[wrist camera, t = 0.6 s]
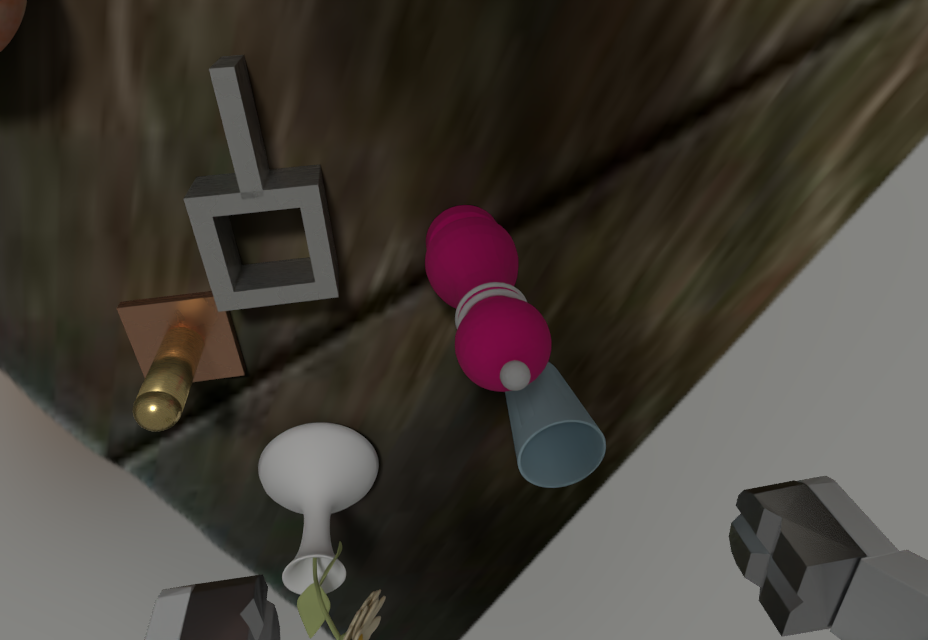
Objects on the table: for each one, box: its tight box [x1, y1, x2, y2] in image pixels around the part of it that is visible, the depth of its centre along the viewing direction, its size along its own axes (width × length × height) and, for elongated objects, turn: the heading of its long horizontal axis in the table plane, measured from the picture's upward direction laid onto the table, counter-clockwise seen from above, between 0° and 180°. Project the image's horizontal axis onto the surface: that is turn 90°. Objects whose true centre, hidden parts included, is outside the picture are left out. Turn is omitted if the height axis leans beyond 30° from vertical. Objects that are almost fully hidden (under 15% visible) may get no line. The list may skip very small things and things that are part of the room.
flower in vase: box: [258, 422, 386, 640], centre depth 51 cm, size 13×11×25 cm
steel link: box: [184, 55, 339, 312], centre depth 45 cm, size 17×9×4 cm, turn 2°
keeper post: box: [117, 291, 246, 431], centre depth 48 cm, size 8×8×11 cm
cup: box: [505, 362, 606, 488], centre depth 57 cm, size 8×8×10 cm
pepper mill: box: [425, 205, 551, 392], centre depth 44 cm, size 7×7×20 cm
